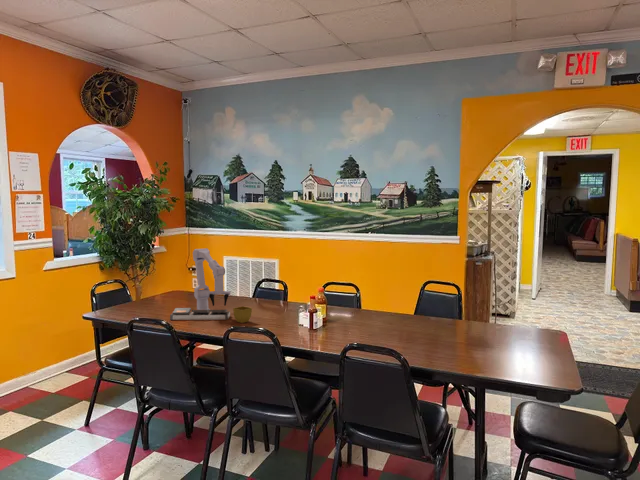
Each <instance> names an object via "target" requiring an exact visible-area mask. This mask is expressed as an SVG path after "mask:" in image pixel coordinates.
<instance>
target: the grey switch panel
mask: <svg viewBox="0 0 640 480" xmlns="http://www.w3.org/2000/svg"><path fill="white" fill-rule="evenodd" d="M169 315H170V316H169V320H170V321H209V320H210V321H211V320H212V321H214V320H218V321H219V320H225V321H226V320H229V318H230V316H231V311H230V310H229V311H228V310H227V312H210V311H209V312H201V313H194V312H192V311H190V312H189V314H173V312H172V313H171V314H169Z"/></svg>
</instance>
